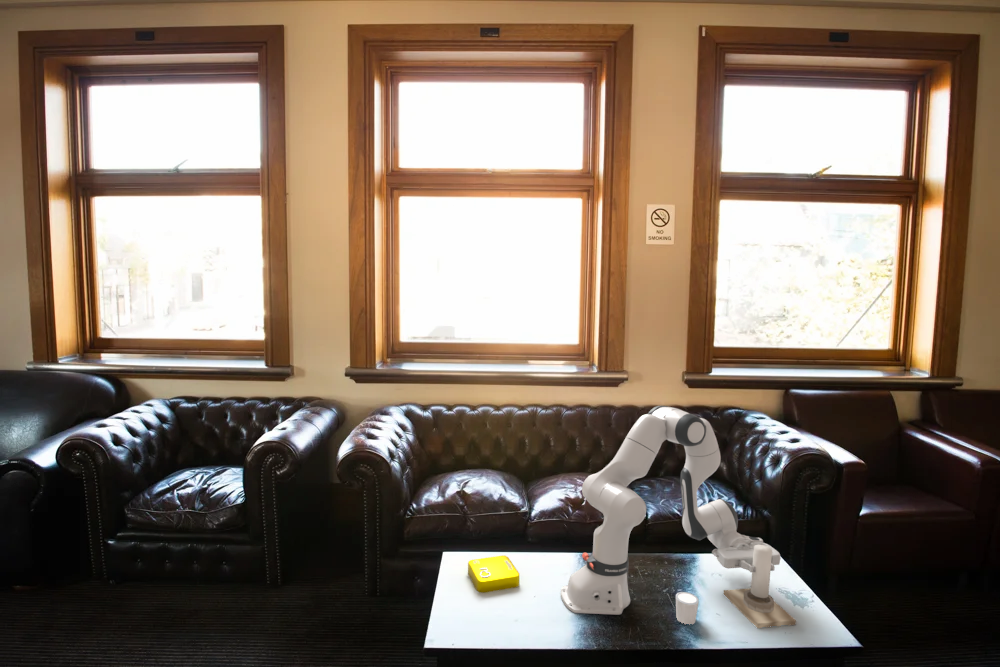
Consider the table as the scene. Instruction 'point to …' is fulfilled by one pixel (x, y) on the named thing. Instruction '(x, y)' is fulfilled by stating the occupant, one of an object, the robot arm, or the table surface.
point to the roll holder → (759, 608)
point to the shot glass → (686, 607)
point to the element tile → (493, 574)
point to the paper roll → (761, 571)
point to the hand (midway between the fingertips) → (763, 569)
